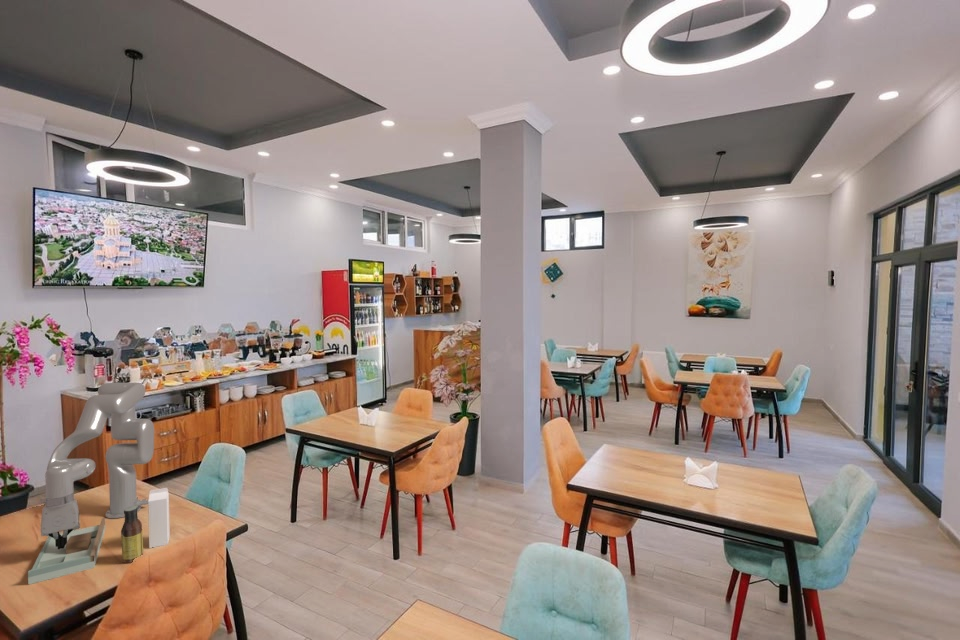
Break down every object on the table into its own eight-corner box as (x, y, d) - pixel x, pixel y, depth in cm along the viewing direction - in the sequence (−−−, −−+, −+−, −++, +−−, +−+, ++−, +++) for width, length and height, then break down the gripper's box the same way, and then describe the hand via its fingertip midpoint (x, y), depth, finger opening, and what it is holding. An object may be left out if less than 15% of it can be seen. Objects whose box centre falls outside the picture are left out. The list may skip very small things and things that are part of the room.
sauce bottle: (130, 554, 168) (128, 503, 167) (147, 554, 169) (146, 503, 168) (117, 564, 162) (116, 511, 161) (135, 564, 162) (134, 511, 161)
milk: (167, 544, 175) (166, 490, 174) (148, 548, 172) (147, 493, 171) (169, 537, 180) (168, 484, 179) (151, 541, 177) (150, 487, 176)
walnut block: (91, 542, 172) (90, 532, 171) (87, 549, 167) (87, 539, 166) (70, 546, 168) (70, 536, 168) (66, 554, 163) (66, 543, 163)
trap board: (105, 529, 186) (105, 517, 186) (94, 567, 160) (94, 554, 159) (49, 541, 176) (49, 529, 176) (28, 584, 150) (27, 570, 150)
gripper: (29, 508, 158) (30, 558, 158) (85, 498, 166) (86, 545, 167) (34, 500, 164) (36, 548, 165) (88, 491, 172) (89, 537, 173)
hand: (61, 547), depth 166 cm, fingers closed
